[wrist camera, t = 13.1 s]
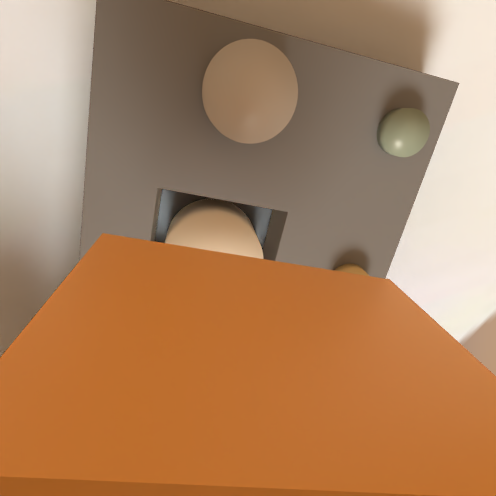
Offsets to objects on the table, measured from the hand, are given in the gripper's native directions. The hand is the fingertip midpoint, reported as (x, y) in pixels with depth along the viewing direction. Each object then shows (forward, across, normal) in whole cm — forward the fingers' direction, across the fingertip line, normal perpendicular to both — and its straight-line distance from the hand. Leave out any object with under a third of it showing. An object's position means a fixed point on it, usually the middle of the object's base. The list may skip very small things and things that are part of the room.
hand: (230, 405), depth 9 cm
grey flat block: (+12, -1, 0) cm, 12 cm away
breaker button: (+12, 0, 0) cm, 12 cm away
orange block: (+1, 0, 0) cm, 1 cm away
